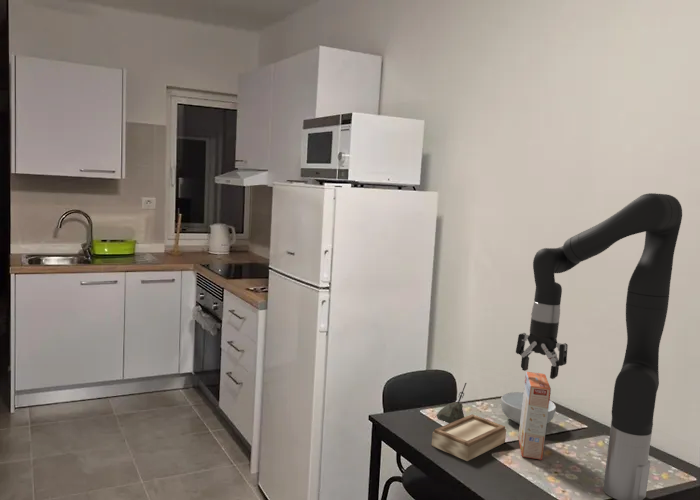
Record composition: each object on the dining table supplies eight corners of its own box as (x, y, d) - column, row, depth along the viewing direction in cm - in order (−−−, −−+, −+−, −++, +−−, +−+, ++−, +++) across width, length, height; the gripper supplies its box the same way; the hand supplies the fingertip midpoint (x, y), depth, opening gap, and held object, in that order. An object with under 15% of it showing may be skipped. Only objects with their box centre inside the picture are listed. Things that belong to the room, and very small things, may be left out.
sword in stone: (442, 425, 190) (445, 387, 189) (433, 416, 198) (435, 379, 197) (472, 424, 193) (475, 386, 192) (461, 415, 200) (464, 379, 199)
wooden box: (505, 442, 180) (506, 426, 179) (467, 461, 166) (468, 444, 165) (470, 428, 188) (471, 413, 188) (431, 445, 174) (432, 429, 173)
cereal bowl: (490, 421, 196) (492, 400, 195) (511, 408, 209) (513, 388, 208) (542, 437, 185) (545, 415, 185) (560, 422, 199) (563, 401, 198)
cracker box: (543, 461, 169) (552, 388, 167) (521, 457, 170) (529, 385, 168) (538, 440, 183) (546, 373, 180) (517, 437, 184) (525, 370, 182)
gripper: (575, 322, 170) (568, 378, 172) (528, 311, 180) (522, 365, 182) (563, 325, 164) (556, 383, 166) (515, 314, 174) (509, 369, 176)
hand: (538, 374), depth 174 cm, fingers open, 8 cm apart
